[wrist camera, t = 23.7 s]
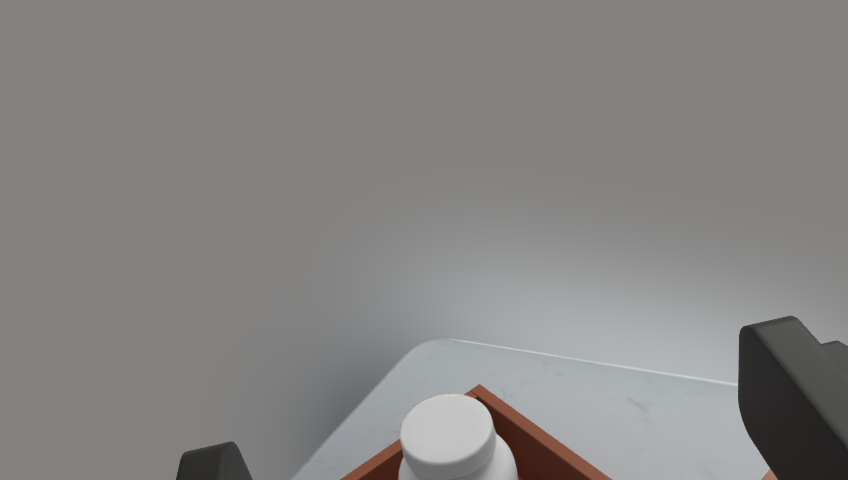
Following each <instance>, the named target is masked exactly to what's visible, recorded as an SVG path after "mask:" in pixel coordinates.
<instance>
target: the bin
mask: <svg viewBox="0 0 848 480" xmlns="http://www.w3.org/2000/svg"><path fill="white" fill-rule="evenodd" d="M464 395H466V396H469V397H472V398H474V399H476V400H478V401H479V402H481V403H482V404H483V405H484V406H485V407H486V408H487V410H488V411H489V413H490V415H491V418H492V421H493V425H494V429H495V431H496V434H497V435H499V436H500V437H501V438H502V439H503V440H504V441H505V443H506V444H507V445H508V447H509V448H510V450H511V452H512V454H513V457H514V460H515V464H516V468H517V473H518V478H519V480H612V479H610V478H609V477H608V476H606V475H605V474H603V473H602V472H601V471H599V470H598V469H596V468H595V467H594V466H592V465H591V464H589V463H588V462H587V461H585V460H584V459H583V458H581V457H580V456H578V455H577V454H576V453H574V452H573V451H571V450H570V449H569V448H567V447H566V446H565V445H563V444H562V443H560V442H559V441H558V440H556V439H555V438H553V437H552V436H551V435H549V434H548V433H546V432H545V431H544V430H542V429H541V428H540V427H538V426H537V425H535V424H534V423H533V422H531V421H530V420H528V419H527V418H526V417H524V416H523V415H522V414H520V413H519V412H517V411H516V410H515V409H513V408H512V407H510V406H509V405H508V404H506V403H505V402H503V401H502V400H501V399H499V398H498V397H497V396H495V395H494V394H492V393H491V392H490V391H488V390H487V389H485V388H484V387H483V386H481V385H480V384H479V385H478V386H476V387H475V388H473V389H472V390H471V391H469V392H467V393H466V394H464ZM403 457H404V456H403V449H402V446H401V442H400V439H399V440H397V441H396V442H394V443H393V444H391V445H390V446H389V447H387V448H386V449H384V450H383V451H381V452H380V453H378V454H377V455H375V456H374V457H373V458H371V459H370V460H368V461H367V462H365V463H364V464H362V465H361V466H359V467H358V468H356V469H355V470H354V471H352V472H351V473H349V474H348V475H346V476H345V477H343V478H342V479H340V480H398V476H399V468H400V465H401V462H402V459H403Z"/></svg>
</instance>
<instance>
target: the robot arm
mask: <svg viewBox="0 0 848 480" xmlns="http://www.w3.org/2000/svg"><path fill="white" fill-rule="evenodd" d="M738 380H739V381H738V382H739V383H738V402H739V408H740V413H741V417H742V420H743V423H744V425H745V428H746V430H747V432H748V434H749V436H750V438H751V440H752V441H753V443H754V444H755V446H756V447H757V449H758V450H759V452H760V453H761V455H762V456H763V458H764V459H765V461H766V463H767V464H768V466H769V467H770V469H771V470H772V472H773V473H774V475H775V476H776V478H777V479H778V480H848V346H847V345H845V344H843V343H841V342H839V341H833V342H828V343H824V344H820V343H819V341H818V340H817V339H816V338H815V337H814V336H813V335H812V334H811V333H810V332H809V330H808V329H807V328H806V327H805V326H804V325H803V324H802V322H801V321H799V320H798V319H797V318H796V317H793V316H787V317H783V318H778V319H774V320H769V321H765V322H761V323H756V324H752V325H748V326H744V327H742V329H741V330H740V334H739V379H738ZM176 480H252V477H251V475H250V473H249V471H248V469H247V466H246V464H245V462H244V460H243V457H242V455H241V453H240V451H239V449H238V447H237V445H236V444H235V443H234V442H227V443H222V444H218V445H214V446H209V447H205V448H200V449H196V450H192V451H187V452H185V453H184V454H183V455H182V457H181V460H180V464H179V469H178V473H177V478H176Z"/></svg>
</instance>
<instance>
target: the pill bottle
mask: <svg viewBox="0 0 848 480" xmlns="http://www.w3.org/2000/svg"><path fill="white" fill-rule="evenodd" d="M400 442H401V446H402V449H403V456H404V457H403V459H402V462H401V465H400V468H399V476H398V480H519V478H518V473H517V468H516V464H515V460H514V457H513V454H512V452H511V450H510V448H509V447H508V445H507V444H506V443H505V441H504V440H503V439H502V438H501V437H500V436H499V435H497V434H496V431H495V429H494V425H493V421H492V418H491V415H490V413H489V411H488V410H487V408H486V407H485V406H484V405H483V404H482V403H481V402H479V401H478V400H476V399H474V398H472V397H469V396H466V395H461V394H444V395H439V396H435V397H432V398H429V399H427V400H425V401H423V402H421V403H420V404H418V405H417V406H415V407H414V408H413V409H412V410H411V411H410V412H409V413H408V414H407V415H406V417H405V418H404V420H403V422H402V424H401V428H400Z"/></svg>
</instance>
